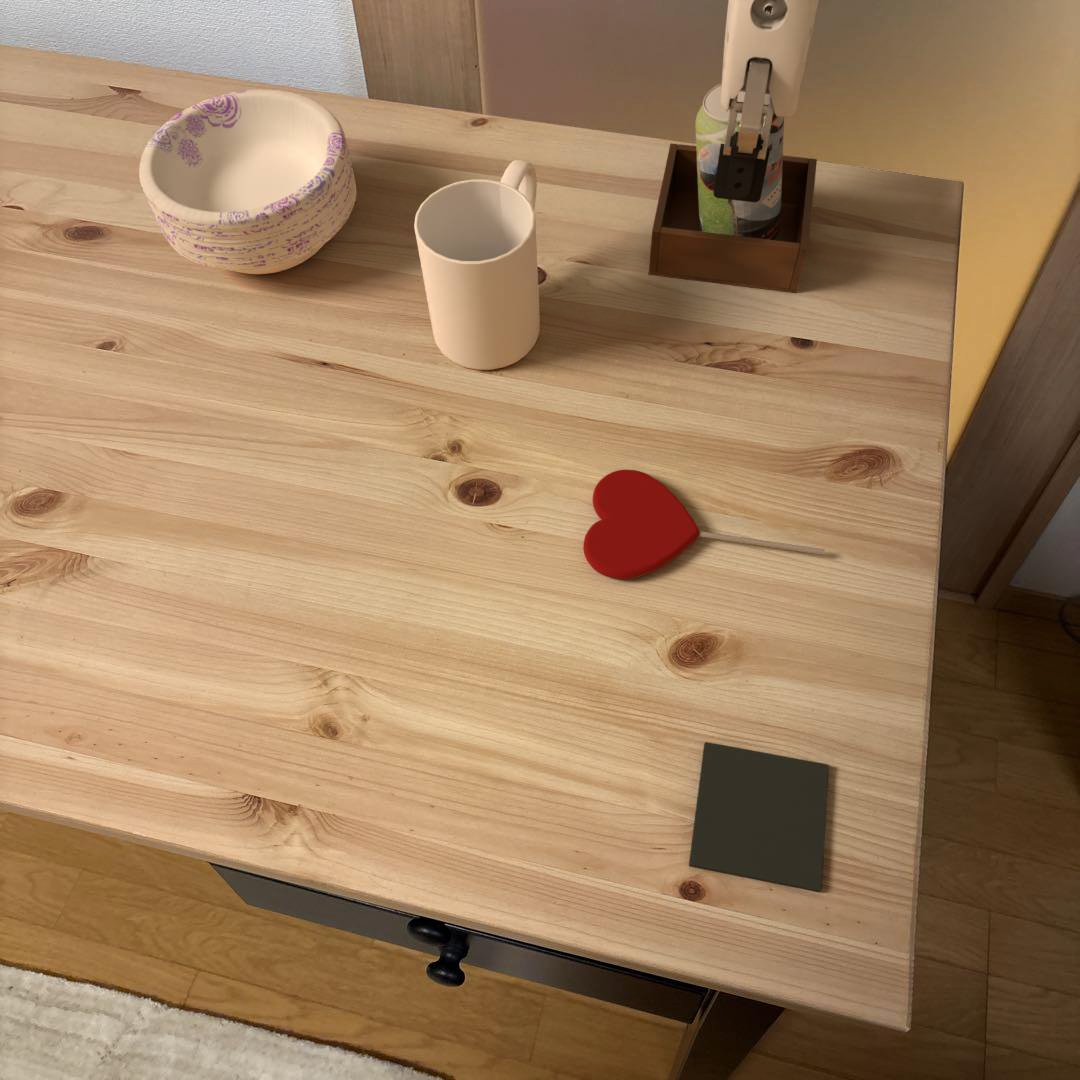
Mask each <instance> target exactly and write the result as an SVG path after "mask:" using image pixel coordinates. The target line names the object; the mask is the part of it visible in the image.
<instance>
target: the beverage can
mask: <svg viewBox="0 0 1080 1080" xmlns="http://www.w3.org/2000/svg"><path fill="white" fill-rule="evenodd" d="M721 88H722V82H721V83H719V84H717V85H715V86H713V87H712V88H711V89H710V90H708V91H707V92H706V94H705V96H704V98H703V101H702V104H701V106H700V108H699V109H698V111H697V114H696V117H695V121H694V123H695V146H696V151H697V175H698V198H699V222H700V231H701V232H709V233H717V234H726V235H734V236H743V237H751V238H760V239H768V240H774V239H775V238H776V236H777V234H778V232H779V229H780V216H781V189H782V162H783V156H784V132H785V117H780V116H776V114H775V111H774V113H773V117H772V123H771V129H770V134H769V140H768V146H767V149H770V153H769V159H768V164H767V168H766V173H765V178H764V183H763V188H762V193H761V198H760V200H759V201H758V202H747V201H738V200H729V199H721V198H716V197H715V196H714V195H713V192H714V185H715V179H716V172H717V165H718V159H719V152H720V146H721V144H725V138H726V131H727V125H728V119H729V113H730V109H729V110H728V112H727V111H726V110H725V109H724V108H723V107H722V105H721ZM744 97H745V92H742V91H740V92H739V93H738V98H737V102H744ZM769 99H770V94H765V99H764V104H765V105H768V104H769ZM741 115H742V114H741V113H737V119H736V125H735V132H739V127H740V121H741ZM763 119H764V116H762V117H761V123H760V129H759V134H761V131H762V125H763ZM735 132H734V134H735Z"/></svg>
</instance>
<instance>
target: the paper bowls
mask: <svg viewBox="0 0 1080 1080" xmlns="http://www.w3.org/2000/svg"><path fill="white" fill-rule="evenodd" d="M138 168H139V171H138V173H139V174H138V176H139V184H140V186H141V189H142V191H143V193H144V195H145V198H146V199H147V203H148V204H149V206H150V209H151V211H152V213H153V215H154V217H155V220H156V222H157V224H158V226H159V228H160V230H161V232H162V234H163V236H164V238H165V239H166V241H167V242H168V243H169V245H170V247H172V249H173V250H175V252H177V253H178V254H179V255H180V256H182V258H183V257H184V258H185V259H187V260H189V261H191V262H192V263H195V264H199V265H200V266H203V267H208V268H213V269H217V270H222V271H229V272H230V271H231V272H232V271H233V272H237V273H240V274H241V273H242V274H248V275H265V274H266V275H267V274H268V275H269V274H275V273H279V272H284V271H286V270H288V269H291V268H294V267H296V266H299V265H300V264H302V263H304V262H305V261H307V260H309V259H310V258H311V257H313V256H314V255H316V253H317V252H318V251H320V249H322V248H323V246H324V245H325V244H327V242H329V241H330V240H331V239H333V237H334V236H336V234H337V233H338V232H339V231H340V230H341V229H342V228H343V227H344V225H345V224H346V223H347V222H348V220H349V217H350V216H351V213H352V211H353V209H354V207H355V204H356V200H357V185H356V178H355V174H354V173H355V172H354V170H353V164H352V161H351V157H350V151H349V149H348V142H347V138H346V134H345V132H344V129H343V126H342V124H341V123H340V121H339V120H338V119H337V117H336V116H335V115H334V114H333V113H332V112H331V111H330V109H328V108H327V107H326V106H325V105H322V103H320V102H319V101H316V100H315V99H313V98H310V97H308V96H307V95H306V96H305V95H304V94H303V95H302V94H301V93H298V92H293V91H288V90H280V89H269V88H258V89H257V88H255V89H244V90H237V91H230V92H226V93H222V94H219V95H216V96H215V95H214V96H212V97H210V98H206V99H204V100H201V101H199V102H197V103H195V104H193V105H191V106H189V107H187V108H185V109H184V110H182V111H180V112H178V113H176V114H175V115H174V116H172V117H171V118H170V119H168V120H167V121H166V122H165V123H163V125H161V126H160V127H159V128H158V130H156V132H155V133H154V134H153V135H152V136H151V138H150V139H149V141H148V142H147V143H146V145H145V147H144V149H143V152H142V154H141V157H140V162H139V167H138Z"/></svg>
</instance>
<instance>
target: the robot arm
mask: <svg viewBox="0 0 1080 1080" xmlns="http://www.w3.org/2000/svg"><path fill="white" fill-rule="evenodd" d="M818 5H819V0H728V2H727V11H726V20H725V21H726V22H725V32H724V44H723V56H722V60H723V61H722V72H721V73H722V74H721V75H722V76H721V83H722V88H721V105H722V107H723V108H724V109H725V110H726V111H727V112H728V110H729V109H730V113H729V119H728V125H727V131H726V138H725V144H721V146H720V152H719V159H718V165H717V172H716V179H715V185H714V192H713V195H714V196H715V197H716V198H721V199H729V200H738V201H747V202H758V201H759V200H760V198H761V193H762V188H763V183H764V178H765V173H766V168H767V164H768V159H769V153H770V149H767V146H768V140H769V134H770V129H771V123H772V117H773V113H774V111H775V114H776V116H780V117H784V119H789V118H791V117H793V116H794V115H795V113H796V112H797V107H798V103H799V98H800V93H801V92H800V91H801V87H802V83H803V77H804V73H805V67H806V62H807V57H808V54H809V48H810V43H811V38H812V33H813V30H814V25H815V21H816V17H817V16H816V14H817V10H818ZM740 91H742V92H745V97H744V102H737V98H738V93H739V92H740ZM765 94H770V99H769V104H768V105H765V104H764V99H765ZM737 113H741V114H742V115H741V121H740V127H739V132H735V125H736V119H737ZM762 116H764V119H763V125H762V131H761V134H759V129H760V123H761V117H762ZM734 132H735V134H734Z"/></svg>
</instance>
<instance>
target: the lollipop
mask: <svg viewBox="0 0 1080 1080" xmlns="http://www.w3.org/2000/svg"><path fill="white" fill-rule="evenodd" d="M592 505H593V506H592V507H593V510H594V512H595V513H596V515H597V517H599V520H598V521H595V522H594V523H593V524H592V525H591V526H590V527H589V529H588V530H587V532H586V533H585V536H584V538H583V539H584V540H583V545H582V546H583V554H584V558H585V559H586V562H587V563H588V564H589V566H590V567H591V568H592V569H593V570H594V571H595V572H596V573H598V574H600V575H602V576H604V577H606V578H611V579H615V580H629V579H630V580H631V579H634V578H639V577H643V576H645V575H648V574H651V573H653V572H655V571H656V570H659V569H660V568H662V567H664V566H665V565H667V564H669V563H670V562H671V561H673V560H675V559H676V558H677V557H679V556H680V555H681V554H682V553H684V552H685V551H686V550H687V549H688V548H689V547H690V546H692V544H694V542H695V541H697V539H698V538H704V539H705V538H706V539H712V540H719V541H726V542H733V543H738V544H739V543H740V544H747V545H754V546H760V547H768V548H773V549H774V548H775V549H781V550H787V551H795V552H801V553H808V554H814V555H815V554H816V555H820V556H821V555H822V556H825V549H824V548H819V547H817V548H816V547H811V546H804V545H798V544H790V543H783V542H778V541H771V540H763V539H756V538H750V537H742V536H737V535H730V534H729V535H728V534H723V533H717V532H716V533H715V532H708V531H703V530H700V528H699V527H698V525H697V522H695V520H694V518H693V517H692V516H691V514H690V512H689V511H688V509H687V508H686V506H685V505H684V503H682V501H681V500H680V499H679V498H678V497H677V496H676V495H675V494H674V492H673V491H671V489H670V488H668V486H666V484H664V483H662V482H661V481H660V480H658V479H657V478H655V477H653V476H652V475H650V474H648V473H645V472H644V471H641V470H635V469H618V470H615V471H612V472H609V473H607V474H606V475H605V476H603V477H602V478H601V479H600V480H599V481H598V482H597V484H596V485H595V487H594V490H593V493H592Z"/></svg>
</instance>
